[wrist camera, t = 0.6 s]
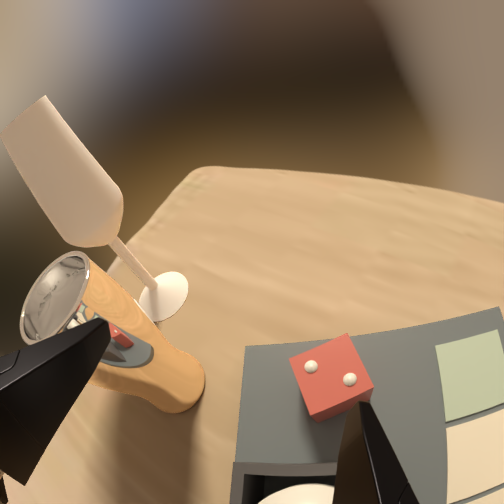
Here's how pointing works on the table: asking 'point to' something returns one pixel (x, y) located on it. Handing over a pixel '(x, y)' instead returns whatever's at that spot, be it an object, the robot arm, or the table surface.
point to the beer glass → (112, 333)
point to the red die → (331, 378)
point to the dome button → (302, 494)
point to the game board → (385, 413)
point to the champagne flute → (81, 197)
